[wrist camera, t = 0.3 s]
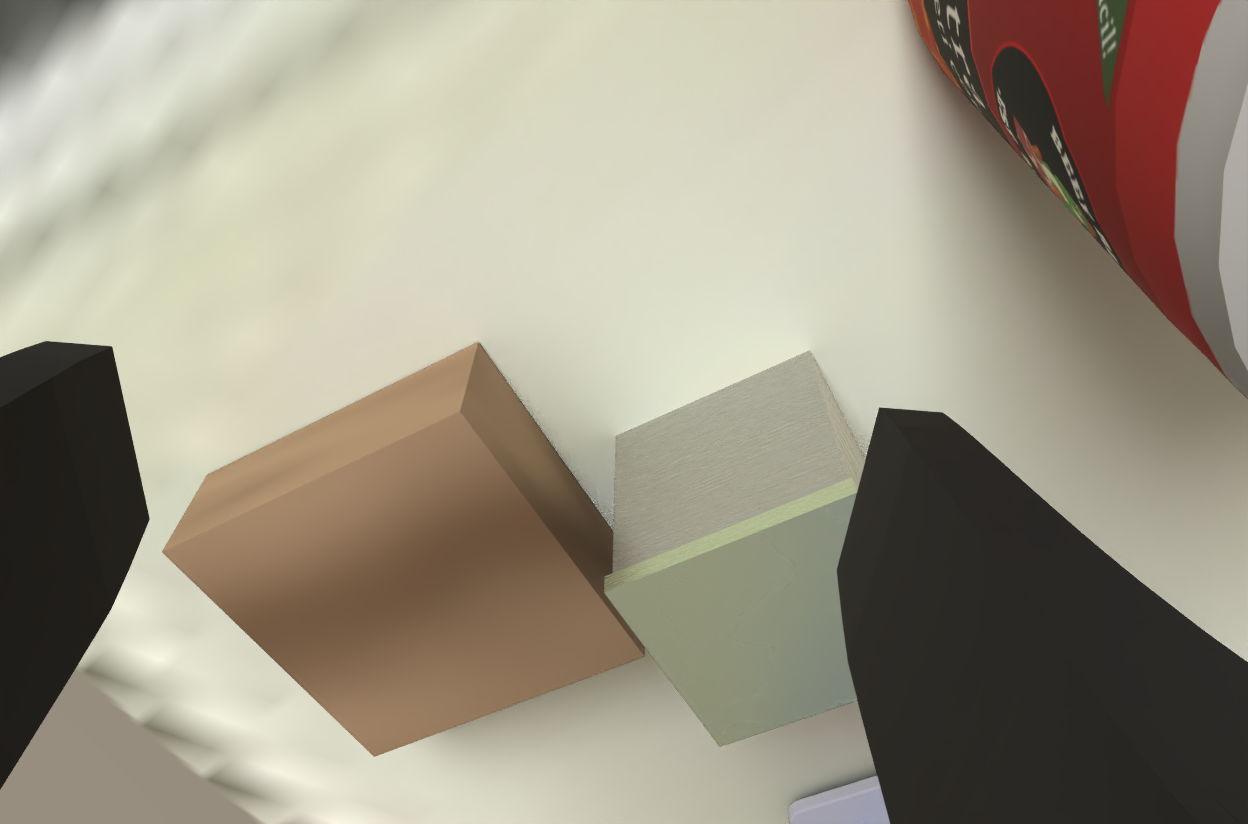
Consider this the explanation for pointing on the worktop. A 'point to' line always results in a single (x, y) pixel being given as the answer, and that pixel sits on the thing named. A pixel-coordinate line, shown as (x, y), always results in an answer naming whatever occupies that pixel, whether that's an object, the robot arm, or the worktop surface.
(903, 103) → the worktop surface
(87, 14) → the worktop surface
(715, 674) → the tea tin
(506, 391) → the walnut block
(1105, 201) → the canned food
